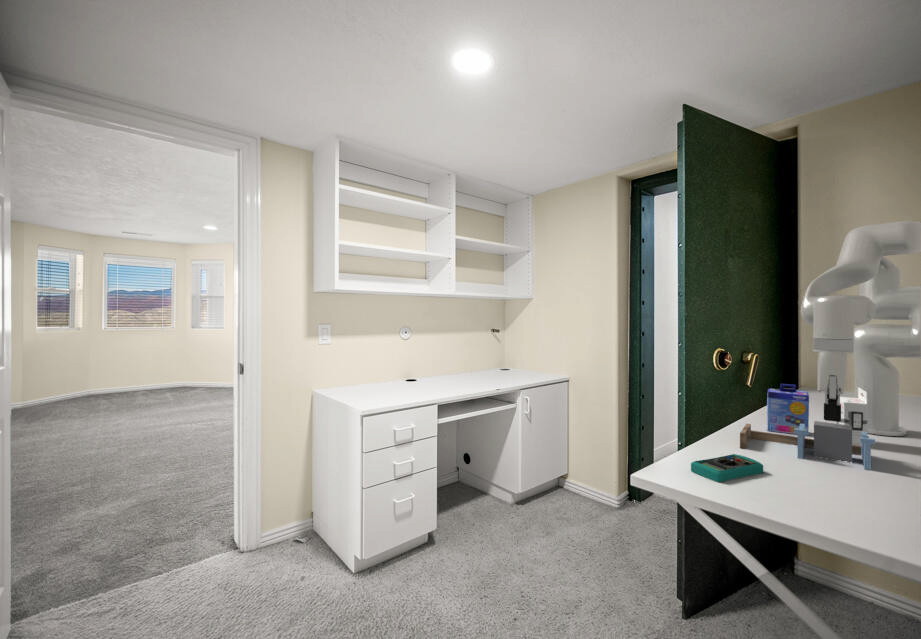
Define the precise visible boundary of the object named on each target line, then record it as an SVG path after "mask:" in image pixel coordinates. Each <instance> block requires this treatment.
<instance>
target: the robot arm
mask: <svg viewBox="0 0 921 639" xmlns="http://www.w3.org/2000/svg"><path fill="white" fill-rule="evenodd" d="M920 253H921V221H913V220H903V221H902V220H901V221H894V222H885V223H884V222H883V223H876V224H868V225H864V226H863V225H862V226H859V227H856V228H854V229H852V230H850V231H849V232H848V233H847V234H846V236H845V238H844V241H843V243H842V246H841V250H840V253H839V256H838V259H837V261H836V265H835V266H833V267H831V268H829V269H828V270H825V271H824V272H823V273H822V274H820V275H818V276H817V277H816V278H815V279H813V280H812V281H811V282H810V283H809V285H808V286H807V288H806V290H805V293H804V295H803V298H802V301H801V305H800V315H801V318H802V320H803V321H804V322H805V323H807V324H811V325H812V327H813V328H812V329H813V330H812V335H813V336H812V339H813V340H812V347H813V348H812V352H814V353H815V352H816V353H818V354H817V355H818V356H817V391H818V392H819V393H821V392H824V396H825V397H824V403H823V420H824V421H826V422H827V421H829V422H836V423H837V422H841V405H840V397H841V395H843V394H844V393H845V387H846V379H847V368H848V367H847V366H848V365H847V361H848V360H847V358H848V356H847V354H853V359H854V360H853V361H854V362H853V363H854V398H858V387H859V388H861V389H862V390H864V391H866V392H867V433H868V434H871V435H877V436H888V437H889V436H890V437H902V436H906V435H907V432H908V431H907V429H905V428H903V427H900V372H899V370H898V368H897V367H896V366H895V364H893V362H891V361H890V360H889V359H888V358H897V359H898V358H899V359H916V360H917V359H918V360H921V286H901V285H900V283H901V271H900V269H899V267H898V266H897V265H896V264H895V263H893V261H891V260H890V259H888V258H887V257H885V256H896V255H910V254H911V255H912V254H920ZM858 285H859V293H858V294H859V295H857V294H856V295H855V294H854V295H848V294H847V295H840V294H839V295H832V294H834V293H835V292H838V291H842V290H846V289H849V288H852V287H856V286H858ZM872 320H879V321H880V320H881V321H884V320H885V321H888V320H890V321H910V322H912V324H893V323H890V324H889V323H870V322H871V321H872ZM868 323H869V324H868ZM855 326H856V327H855ZM861 395H862V396H863V397H864V395H863V393H861Z"/></svg>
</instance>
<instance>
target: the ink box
mask: <svg viewBox="0 0 921 639" xmlns="http://www.w3.org/2000/svg"><path fill="white" fill-rule="evenodd" d="M861 393H863V395H864V397H863V396H862V395H861ZM840 405H841V422H836V424H843V425H851V426H852V445H856V446H861V444H862V443H860V437H862V431H863V432H867V392H866V391H864V390H862V389H861V388H859V387H858V398H855V397H850V396H849V397H846V396H840Z"/></svg>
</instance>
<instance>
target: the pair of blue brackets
mask: <svg viewBox="0 0 921 639" xmlns="http://www.w3.org/2000/svg"><path fill="white" fill-rule="evenodd" d="M794 433H796V434H798V435H797V437H798V445H797V459H804V455H805V454H804V453H805V449H806V447H805V438H806V436H805V435H807V430H805V424H800V426H799V429H797V428H794ZM860 443H862V444H861V455H862V456H861V455H860V456H861V458H862V460H861V461H862V464H864V465H863V469H864V470H866V471H871V468H872V467H871V465H872V464H871V462H872V461H871V458H872V457H871V454H872V449H871V447H872V446H871V445H876V439H875V438H871V437H869V433H867V432H863V431H862V437H860Z"/></svg>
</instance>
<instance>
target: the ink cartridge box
mask: <svg viewBox="0 0 921 639" xmlns="http://www.w3.org/2000/svg"><path fill="white" fill-rule="evenodd" d="M788 387H789V388H788ZM796 388H797V386H796V384H790V383H789V384H788V383H780V386H779V388H767V398H766V399H767V400H766V417H767V418H766V421H767V424H766V425H767V427H766V428H767V429H766V430H767V432H774V433H779V434H780V433H781V434H782V433H783V434H789V435H794V436H796V435H797V436H798V434H796V433H794V428H797V429H799V426H800V424H805V430H807V435H805V437H808V436H809V435H810V433H809V421H810V420H809V418H810V417H809V416H810V414H809V413H810V395H809V392H808V391H805V390H797V389H796Z"/></svg>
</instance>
